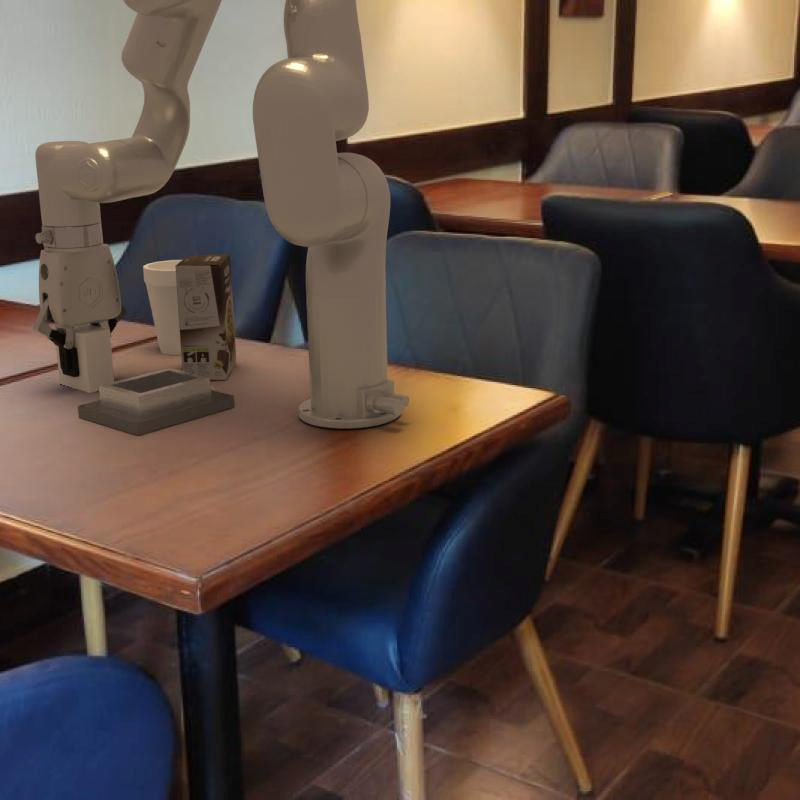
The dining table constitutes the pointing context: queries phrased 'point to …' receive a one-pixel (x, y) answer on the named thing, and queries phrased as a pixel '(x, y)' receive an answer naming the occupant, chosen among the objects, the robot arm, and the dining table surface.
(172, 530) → the dining table surface
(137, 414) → the duct collar
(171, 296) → the foam cup
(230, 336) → the coffee box
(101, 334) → the cream rectangular block
